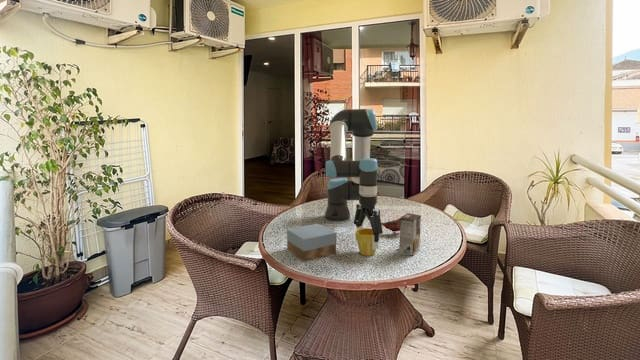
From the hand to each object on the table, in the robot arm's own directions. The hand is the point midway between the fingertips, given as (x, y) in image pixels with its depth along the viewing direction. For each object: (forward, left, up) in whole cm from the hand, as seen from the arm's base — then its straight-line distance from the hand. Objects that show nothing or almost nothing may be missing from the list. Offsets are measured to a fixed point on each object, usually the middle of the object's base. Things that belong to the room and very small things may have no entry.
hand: (367, 244), depth 150 cm
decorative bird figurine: (-26, -14, -4) cm, 30 cm away
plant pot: (0, 0, -4) cm, 4 cm away
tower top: (+20, -14, +1) cm, 24 cm away
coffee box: (-17, +8, -4) cm, 19 cm away
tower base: (+20, -14, -4) cm, 25 cm away
